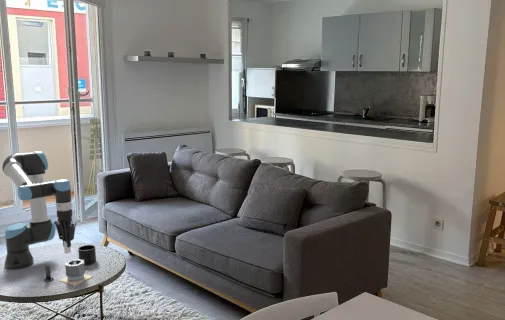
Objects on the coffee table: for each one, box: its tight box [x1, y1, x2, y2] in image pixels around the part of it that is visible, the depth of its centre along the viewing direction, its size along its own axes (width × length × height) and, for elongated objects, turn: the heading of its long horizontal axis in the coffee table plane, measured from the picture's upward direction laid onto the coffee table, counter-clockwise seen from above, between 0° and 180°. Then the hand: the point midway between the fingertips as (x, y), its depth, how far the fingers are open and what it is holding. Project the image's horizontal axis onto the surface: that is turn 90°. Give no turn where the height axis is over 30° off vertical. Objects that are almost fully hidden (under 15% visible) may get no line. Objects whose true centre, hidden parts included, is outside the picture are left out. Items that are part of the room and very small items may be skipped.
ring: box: [64, 258, 86, 277], centre depth 260 cm, size 9×9×6 cm
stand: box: [43, 264, 54, 283], centre depth 259 cm, size 5×5×8 cm
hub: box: [58, 262, 93, 286], centre depth 260 cm, size 12×12×9 cm
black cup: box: [77, 244, 97, 266], centre depth 282 cm, size 9×12×9 cm
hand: (67, 252), depth 255 cm, fingers closed
